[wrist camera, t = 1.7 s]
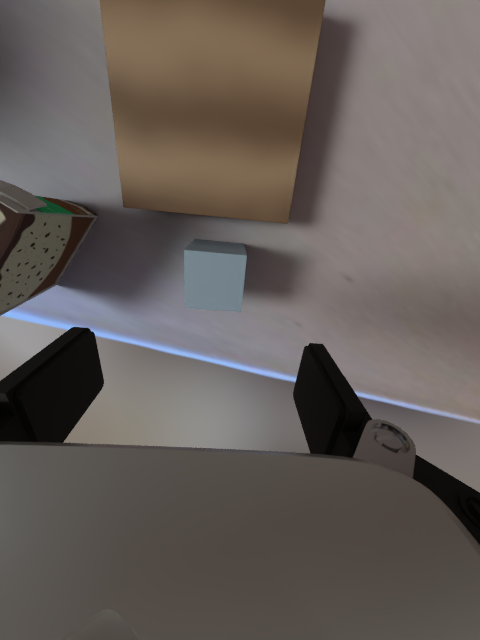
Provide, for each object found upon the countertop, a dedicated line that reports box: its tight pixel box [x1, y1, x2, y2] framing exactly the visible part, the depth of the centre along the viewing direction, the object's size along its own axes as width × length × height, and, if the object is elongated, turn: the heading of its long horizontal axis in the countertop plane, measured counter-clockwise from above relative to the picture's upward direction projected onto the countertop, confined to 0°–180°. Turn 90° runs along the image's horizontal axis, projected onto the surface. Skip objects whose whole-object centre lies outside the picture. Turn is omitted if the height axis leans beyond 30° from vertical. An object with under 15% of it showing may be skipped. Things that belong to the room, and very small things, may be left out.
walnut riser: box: [100, 0, 325, 223], centre depth 18 cm, size 14×14×3 cm
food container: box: [0, 180, 98, 316], centre depth 19 cm, size 12×6×10 cm, turn 137°
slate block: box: [184, 239, 247, 312], centre depth 23 cm, size 5×5×6 cm
